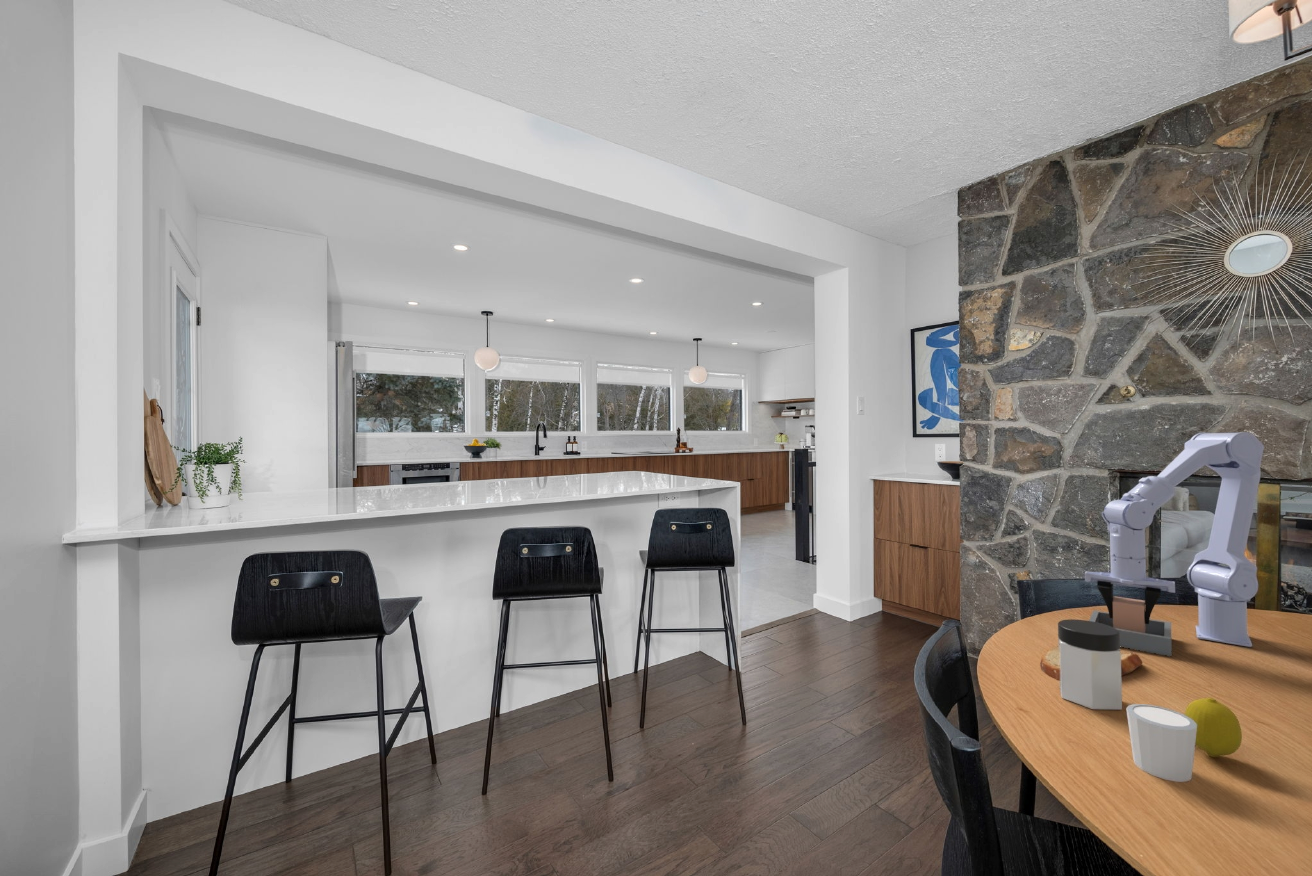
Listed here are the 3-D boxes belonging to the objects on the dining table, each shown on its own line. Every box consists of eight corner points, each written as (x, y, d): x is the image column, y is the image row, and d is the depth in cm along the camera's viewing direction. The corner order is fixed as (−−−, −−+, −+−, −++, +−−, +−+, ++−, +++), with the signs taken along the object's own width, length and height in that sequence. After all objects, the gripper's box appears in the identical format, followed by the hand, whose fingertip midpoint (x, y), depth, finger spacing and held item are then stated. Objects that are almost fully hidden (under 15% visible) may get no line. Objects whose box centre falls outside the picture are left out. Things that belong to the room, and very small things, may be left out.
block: (1114, 623, 120) (1114, 596, 120) (1145, 628, 117) (1144, 600, 117) (1113, 629, 116) (1112, 601, 116) (1144, 634, 113) (1143, 605, 113)
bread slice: (1050, 683, 98) (1050, 662, 98) (1022, 647, 115) (1022, 629, 115) (1177, 698, 91) (1177, 675, 91) (1128, 657, 108) (1128, 638, 108)
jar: (1135, 704, 89) (1133, 630, 89) (1108, 716, 85) (1106, 639, 85) (1073, 682, 97) (1071, 615, 97) (1046, 692, 93) (1044, 622, 93)
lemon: (1254, 770, 71) (1253, 709, 71) (1204, 766, 72) (1203, 705, 72) (1220, 747, 76) (1218, 690, 76) (1174, 743, 77) (1172, 687, 77)
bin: (1094, 625, 126) (1093, 610, 126) (1171, 638, 117) (1170, 622, 117) (1087, 640, 116) (1087, 624, 116) (1171, 656, 107) (1171, 638, 107)
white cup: (1113, 755, 75) (1112, 704, 75) (1159, 751, 75) (1158, 701, 75) (1164, 786, 68) (1163, 730, 68) (1214, 782, 69) (1212, 727, 69)
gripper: (1082, 555, 119) (1084, 617, 119) (1174, 564, 109) (1176, 632, 109) (1086, 550, 124) (1087, 609, 124) (1174, 558, 114) (1175, 623, 114)
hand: (1129, 619), depth 117 cm, fingers closed on block, 5 cm apart
